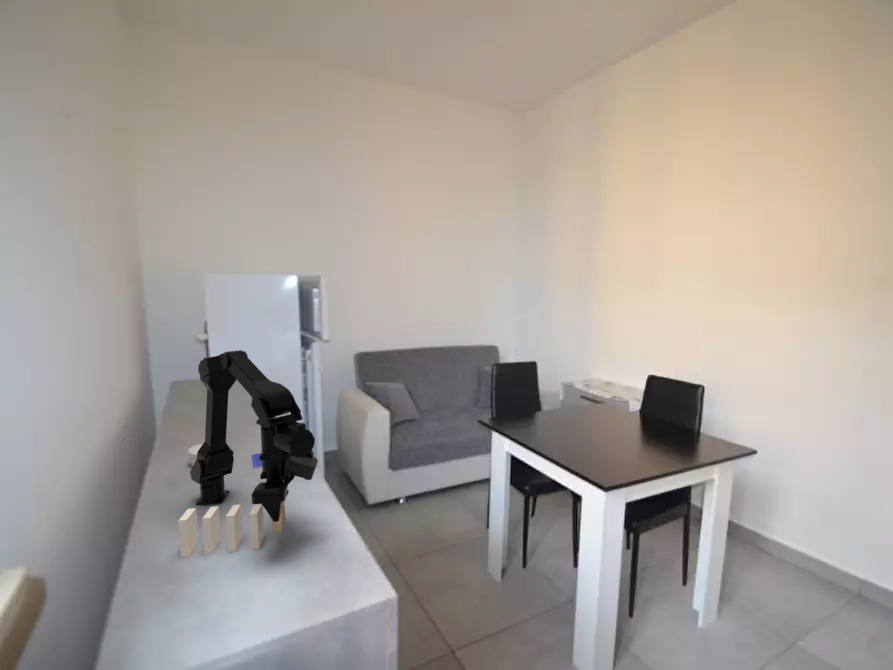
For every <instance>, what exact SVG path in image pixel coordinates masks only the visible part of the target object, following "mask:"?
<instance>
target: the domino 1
mask: <svg viewBox="0 0 893 670" xmlns="http://www.w3.org/2000/svg"><path fill="white" fill-rule="evenodd" d="M197 520H198V519H197V508H194V507H193V508H187V509H186V511H185V512H184V513H183V514H182V516H180V518H179V519H178V520H177V522H178V535H179V550H180V551H179V552H180V558H184V557H185V558H186V557H190V556H191V554H192V553H193V551H194V549H195V548H196V547H197V546H198V544H199V535H198V521H197Z"/></svg>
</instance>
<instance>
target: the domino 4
mask: <svg viewBox="0 0 893 670" xmlns="http://www.w3.org/2000/svg"><path fill="white" fill-rule="evenodd" d="M248 516H249V517H248V518H249V533H250V534H249V535H250V550H251V551H253V550H254V551H255V550H259V549H260V547H261V545H262V543H263V540H264V538H265V523H264V506H263V505H262V504H253V506H252V508H251V510H250V513H249V515H248Z"/></svg>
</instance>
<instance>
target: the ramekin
mask: <svg viewBox="0 0 893 670" xmlns="http://www.w3.org/2000/svg"><path fill="white" fill-rule="evenodd" d="M202 445H203V443H200V444H196V445H193V446H192V447H190V448H188V450H187V454H188V456H189V461H190V464H191V466H192V467H193V465H194V463H195V462H196V459H197V452H198V450H199V449H200V447H201V446H202Z"/></svg>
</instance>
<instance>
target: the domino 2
mask: <svg viewBox="0 0 893 670" xmlns="http://www.w3.org/2000/svg"><path fill="white" fill-rule="evenodd" d="M219 509H220V508H219V505H216V506H210V507H209V509H208V510H207V511H206V513H205V515H203V517H202V532H203V533H202V534H203V537H202V538H203V549H204V551H203V552H204V555H206V556H207V555H213V554H214V553H215V551H216V550H217V547H218V546H219V544H220V542H221V541H222V540H221V526H220V525H221V524H220V510H219Z"/></svg>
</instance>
